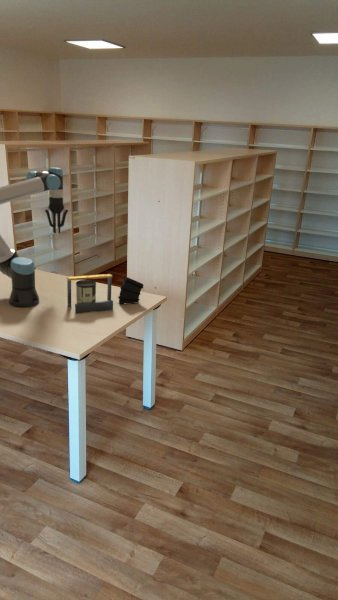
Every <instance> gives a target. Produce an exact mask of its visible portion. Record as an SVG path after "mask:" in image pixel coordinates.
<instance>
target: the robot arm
mask: <svg viewBox="0 0 338 600" xmlns="http://www.w3.org/2000/svg"><path fill="white" fill-rule="evenodd" d="M46 191H48V196H49V197H48V198H49V199H48V201H49V202H48V207H47V208H44V212H45V214H46V217H47V220H48V224H49V226H50V227H52V232H53V234H54V239H56V240H60V239H59V237H60V236H59V234H60V233H61V228H62V227H64V225H65V221H66V216H67V214H68V212H69V210H68V209H66V207H65V206H64V198H63V196H64V172H63V169H62V168H61V167H54V166H53V167H48V169H47V171H38V170H37V171H36V170H35V171H34V170H32V171H31V170H30V171H28V172H27V173H26V179H25V180H22V181H17V182H15V183H11V184H7V185H3V186H0V205H4V204H7V203H10V202H13V201H16V200H20V199H23V198H27V197H29V196H32V195H36V194H40V193H43V192H46ZM50 212H51V213H52V214H50ZM61 213H62V215H61ZM51 215H52V218H51ZM61 216H62V217H61ZM35 271H36V266H35V262H34V260H32V259H31V258H29V257H23V256H19V255H18V253H17V252H16V250H15V248H11V247H9V245H8V244H7V242H6V240H5V239H4V237H2V235H1V234H0V272H1V273H2V275H5V276H6V277H8V278H9V279H11V293H10V295H9V299H8V302H9V305H10V306H12V307H17V308H30V307H34V306H36V305H38V304H39V303H40V297H39V294H38V291H37V289H36V272H35Z"/></svg>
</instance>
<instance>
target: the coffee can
mask: <svg viewBox="0 0 338 600" xmlns="http://www.w3.org/2000/svg"><path fill="white" fill-rule="evenodd" d="M75 283H76V284H75V285H76V287H75V288H76V290H75V291H76V293H75V294H76V295H75V297H76V298H75V299H76V303H87V302H97V301H96V299H97V297H96V296H97V295H96V292H97V291H96V290H97V282H96V281H94V280H93V279H83V280H76V282H75Z"/></svg>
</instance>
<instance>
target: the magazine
mask: <svg viewBox="0 0 338 600" xmlns="http://www.w3.org/2000/svg"><path fill="white" fill-rule="evenodd" d="M142 289H144V284H143V283H142V282H140V281H137V280H134V279H133V278H130V277H128V276H126V277H125V278H123V282H122V285H121V286H120V290H119V295H118V297H117V298H118V303H119V304H120V305H125V304H124V303H131V304H135V303H134V302H138V303H139V301H141V300H140V296H141V291H142Z"/></svg>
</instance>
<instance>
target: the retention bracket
mask: <svg viewBox="0 0 338 600" xmlns="http://www.w3.org/2000/svg"><path fill="white" fill-rule="evenodd" d="M112 278H113V274H111V273H107V274H106V273H105V274H104V273H103V274H91V275H78V276H76V275H75V276H67V277H66V279H67V280H66V281H67V282H66V285H67V286H66V287H67V288H66V289H67V295H66V296H67V309H71V308H72V281H80V280H95V279H107V293H106V294H107V295H106V296H107V299H106V300H99V301H96V302H87V303H77V302H76V303H74V313H75V314H76V315H77V314H86V313H87V314H88V313H96V312H105V311H106V310H107V311H113V310H114V300H113V299H112V281H113V279H112Z"/></svg>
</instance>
